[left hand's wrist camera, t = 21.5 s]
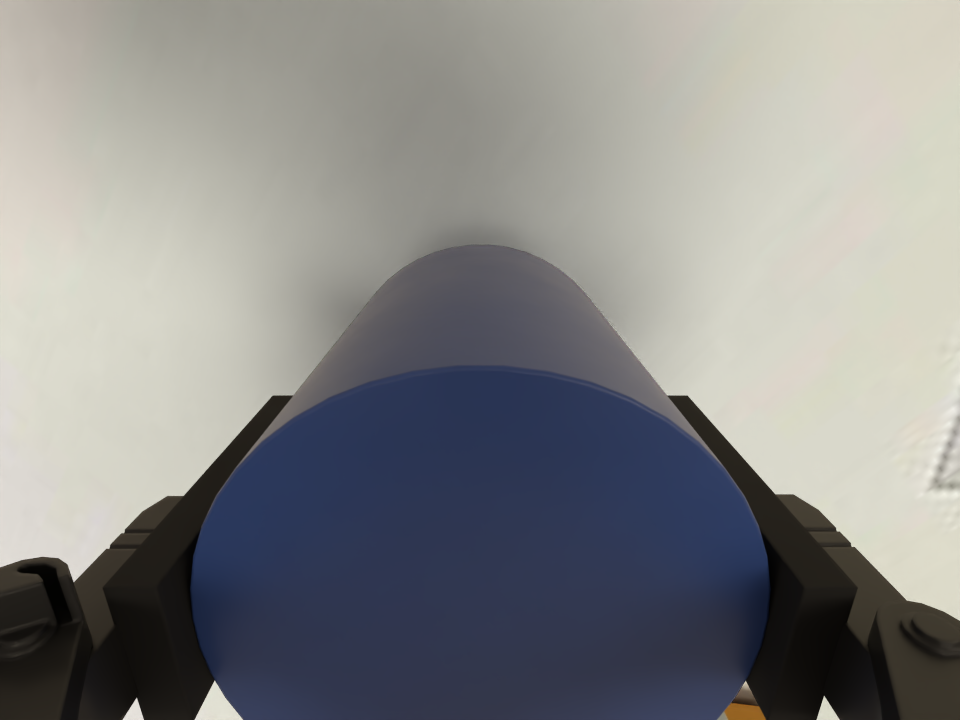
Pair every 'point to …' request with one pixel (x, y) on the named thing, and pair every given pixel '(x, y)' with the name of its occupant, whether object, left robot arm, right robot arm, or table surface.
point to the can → (480, 522)
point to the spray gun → (742, 712)
